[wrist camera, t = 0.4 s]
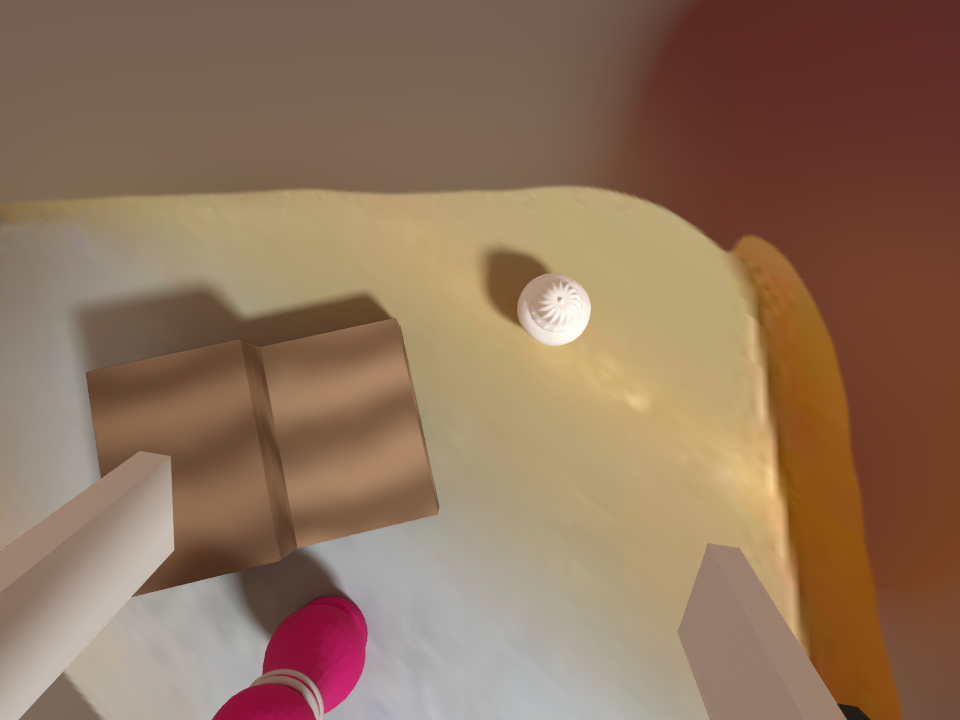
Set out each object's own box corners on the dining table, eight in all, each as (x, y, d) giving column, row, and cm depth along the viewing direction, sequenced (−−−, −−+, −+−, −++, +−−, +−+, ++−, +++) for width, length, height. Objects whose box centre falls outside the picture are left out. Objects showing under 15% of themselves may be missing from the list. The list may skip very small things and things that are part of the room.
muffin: (519, 356, 48) (529, 344, 41) (507, 290, 49) (515, 267, 42) (587, 345, 48) (608, 331, 41) (574, 279, 49) (593, 255, 42)
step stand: (439, 506, 46) (435, 523, 38) (179, 569, 45) (119, 600, 37) (400, 326, 48) (389, 307, 40) (149, 381, 46) (85, 372, 38)
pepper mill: (268, 649, 44) (113, 832, 24) (318, 571, 45) (208, 686, 25) (341, 698, 44) (246, 923, 24) (390, 619, 45) (337, 772, 25)
